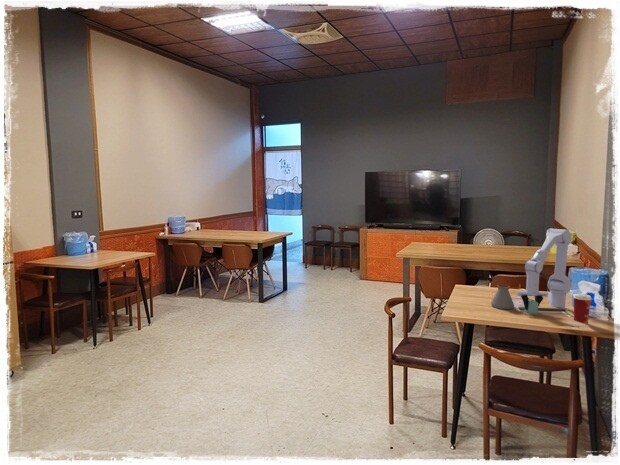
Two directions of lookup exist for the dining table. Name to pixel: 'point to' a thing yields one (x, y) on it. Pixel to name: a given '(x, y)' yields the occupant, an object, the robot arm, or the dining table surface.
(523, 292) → the robot arm
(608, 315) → the dining table surface
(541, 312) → the board
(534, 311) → the teal and beige block
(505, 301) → the coffee pot
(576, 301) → the paper cup
